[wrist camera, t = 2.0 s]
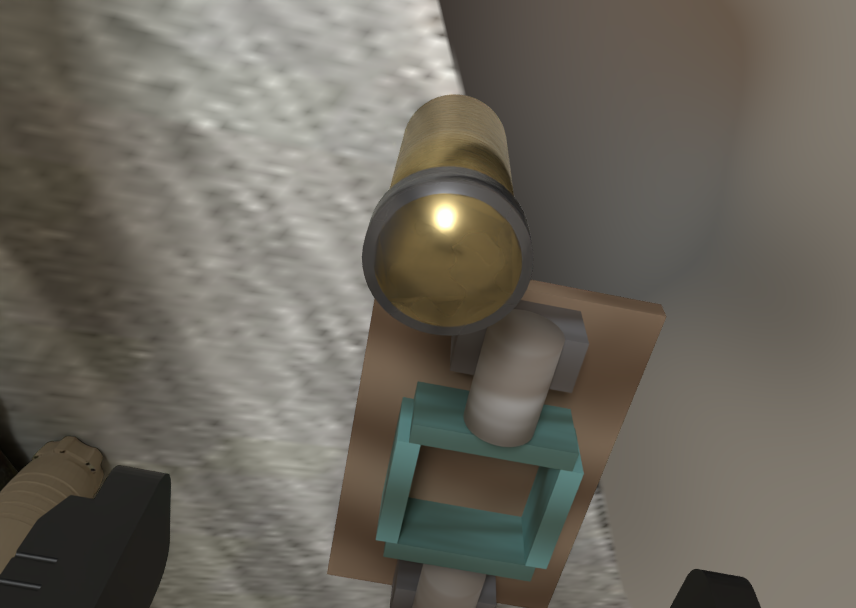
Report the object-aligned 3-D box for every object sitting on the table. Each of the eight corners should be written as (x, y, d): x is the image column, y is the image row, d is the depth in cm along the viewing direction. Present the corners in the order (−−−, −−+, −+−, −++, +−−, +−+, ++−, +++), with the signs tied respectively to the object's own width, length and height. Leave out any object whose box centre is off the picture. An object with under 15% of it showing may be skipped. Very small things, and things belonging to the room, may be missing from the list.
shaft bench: (383, 251, 31) (369, 312, 27) (661, 304, 32) (691, 372, 27) (330, 559, 40) (313, 640, 36) (544, 595, 41) (553, 680, 37)
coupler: (405, 75, 27) (375, 166, 19) (527, 99, 28) (553, 201, 19) (386, 190, 30) (351, 319, 21) (499, 212, 30) (510, 348, 21)
